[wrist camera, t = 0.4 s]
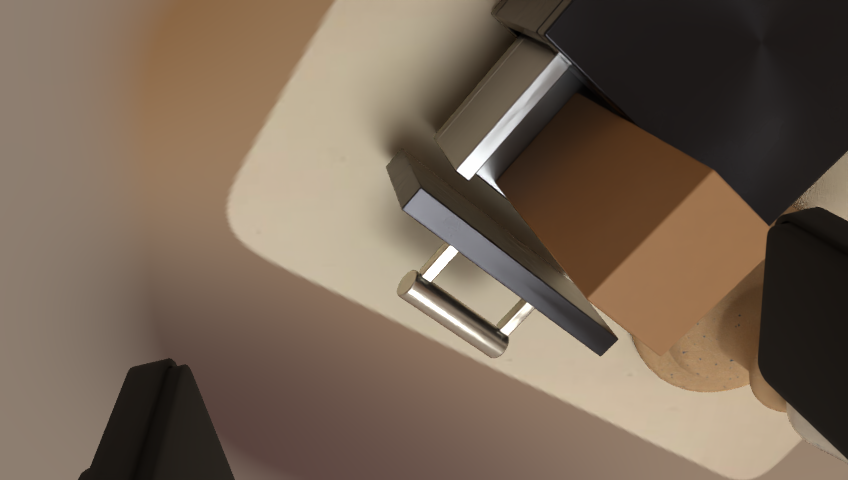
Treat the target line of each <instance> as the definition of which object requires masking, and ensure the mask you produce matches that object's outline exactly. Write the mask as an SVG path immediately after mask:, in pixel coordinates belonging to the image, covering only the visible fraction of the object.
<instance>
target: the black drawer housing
mask: <svg viewBox="0 0 848 480" xmlns="http://www.w3.org/2000/svg"><path fill="white" fill-rule="evenodd" d="M491 14H492V15H493V16H494V17H495V18H496V19H497V20H498V21H499V22H500V23H501V24H502V25H503V26H504V27H505V28H506V29H507V30H508V31H509V32H510V33H512V34H513V35H514V36H515V37H516V38H518V37H519V35H520V34H521V33H523V34H525V35H528V36H530V37H532V38H534V39H537V40H539V41H541V42H543V43H546V44H548V45H550V46H551V47H552V48H553V49H554V50H555V51H556V52H557V53H558V54H559V55H560V56H561V57H562V58H563V59H564V60H565V61H566V62H567V63H568V64H569V65H570V66H571V67H572V68H573V69H574V70H575V71H576V72H577V73H578V74H579V75H580V76H581V77H582V78H583V79H584V80H585V81H586V82H587V83H588V84H589V85H590V86H592V87H593V88H594V89H595V90H596V91H597V92H598V93H599V94H600V95H601V96H602V97H603V98H604V99H605V100H606V101H607V102H608V103H609V104H610V105H611V106H612V107H613V108H614V109H615V110H616V111H617V112H618V113H619V114H620V115H621V116H622V117H623V118H624V119H625V120H627V121H629V122H630V123H632V124H634V125H636V126H637V127H639V128H641V129H643V130H645V131H646V132H648V133H650V134H652V135H653V136H655V137H657V138H659V139H660V140H662V141H664V142H666V143H667V144H669V145H671V146H673V147H675V148H676V149H678V150H680V151H682V152H683V153H685V154H687V155H689V156H690V157H692V158H694V159H696V160H697V161H699V162H701V163H703V164H705V165H706V166H708V167H710V168H712V169H713V170H715V171H716V172H717V173H718V174H719V175H720V176H721V177H722V178H723V179H724V180H725V182H726V183H727V184H728V185H729V186H730V187H731V188H732V189H733V190H734V191H735V192H736V193H737V194H738V195H739V196H740V197H741V198H742V199H743V200H744V201H745V202H746V203H747V204H748V205H749V206H750V207H751V208H752V209H753V210H754V211H755V212H756V213H757V214H758V215H759V216H760V217H761V218H762V220H763V221H764V222H765V223H766V224H767V225H768V226H770V225H771V224H772V223H773V222H774V221H776V220H777V218H778V217H780V216H781V215H782V214H783V213H784V212H785V211H786V210H787V209H788V208H789V207H790V206H791V205H792V204H793V203H794V202H795V201H796V200H797V199H798V198H799V197H800V196H801V195H802V194H804V193H805V192H806V191H807V190H808V189H809V188H810V187H811V186H812V185H813V184H814V183H815V182H816V181H817V180H818V179H819V178H820V177H821V176H822V175H823V174H824V173H825V172H826V171H827V170H828V169H829V168H830V167H831V166H833V165H834V164H835V163H836V162H837V161H838V160H839V159H840V158H841V157H842V156H843V155H844V154H845V153H846V152H847V151H848V0H501V1H500V3H499V4H498V5H497V6H496V7H495V9H494V10H493V11H492V12H491Z"/></svg>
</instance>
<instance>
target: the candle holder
mask: <svg viewBox="0 0 848 480" xmlns="http://www.w3.org/2000/svg"><path fill="white" fill-rule="evenodd" d="M796 211H800V210H798V209H796V208H794V207H792V206H790V207H789V208H788V209H787V210H786V211H785V212H784V213H783V214H788V213H792V212H796ZM783 214H782V215H783ZM775 222H776V221H774V222H773V223H772V224H771V225H770V226H769V227H770V228H771V227H772V226H774V225H775ZM764 267H765V258H764V259H763V260H762V261H761V262H760V263H759V264H758V265H757V266H756V267H755V268H754V269H753V270H752V271H751V272H750V273H749V274H748V275H747V276H746V277H744V278H743V279H742V280H741V281H740V282H739V283H738V284H737V285H736V286H735V287H734V288H733V289H732V290H731V291H730V292H729V293H728V294H727V295H726V296H725V297H724V298H722V299H721V300H720V301H719V302H718V303H717V304H716V305H715V306H714V307H713V308H712V309H711V310H710V311H709V312H708V313H707V314H706V315H705V316H704V317H703V318H701V319H700V320H699V321H698V322H697V323H696V324H695V325H694V326H693V327H692V328H691V329H690V330H689V331H688V332H687V333H686V334H685V335H684V336H683V337H682V338H681V339H679V340H678V341H677V342H676V343H675V344H674V345H673V346H672V347H671V348H670V349H669V350H668V351H667V352H666V353H665V354H664V355H663V356H658V355H657V354H656V353H654V352H653V351H652V350H651V349H649V348H648V347H647V346H645V345H644V344H643V343H642V342H640V341H639V340H638V339H637V338H635V337H634V336H633V335H632V336H633V340H634V343H635V346H636V348H637V350H638V352H639V354H640V356H641V358H642V359H643V361H644V362H645V363H646V365H647V366H648V367H649V368H650V369H651V370H652V371H653V372H654V373H655V374H656V375H658V376H659V377H660V378H661V379H663V380H665V381H666V382H668V383H670V384H672V385H674V386H677V387H680V388H683V389H686V390H690V391H697V392H718V391H726V390H731V389H735V388H739V387H742V386H745V385H748V384H750V386H751V389H752V391H753V393H754V395H755V397H756V398H757V399H758V400H759V401H760V402H761V403H762V404H763V405H765V406H767V407H768V408H770V409H773V410H776V411H780V412H787V416H788V419H789V422H790V423H791V425H792V427H793V428H794V430H795V431H796V432H797V434H798V435H799V436H800V437H802V438H803V439H804V440H805V441H807V442H808V443H810V444H812V445H813V446H815V447H817V448H819V449H821V450H822V451H824V452H827V453H828V454H831V455H833V456H835V457H836V458H838V459H840V460H842V461H844V462H845V463H847V464H848V460H847V459H846V458H845V457H844V456H843V455H842V454H841V453H840V452H839V451H838V450H837V449H836V448H835V447H834V446H833V445H832V444H831V443H830V442H829V441H828V440H826V439H825V438H824V437H823V436H822V435H821V434H820V433H819V432H818V431H817V430H816V429H815V428H814V427H813V426H812V425H811V424H810V423H809V422H808V421H807V420H805V419H804V418H803V417H802V416H801V415H800V414H799V413H798V412H797V411H796V410H795V409H794V408H793V407H792V406H791V405H790V404H789V403H788V402H787V401H786V400H784V399H783V398H782V397H781V396H780V395H779V394H778V393H777V392H776V391H775V390H774V389H773V388H772V387H771V386H770V385H769V384H768V383H767V382H766V381H765V380H764V378H763V377H762V375H761V373H760V370H759V367H758V347H759V334H760V320H761V307H762V294H763V280H764Z"/></svg>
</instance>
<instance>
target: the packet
mask: <svg viewBox="0 0 848 480" xmlns="http://www.w3.org/2000/svg"><path fill="white" fill-rule="evenodd" d="M495 184H496V185H497V186H498V188H499V189H500V190H501V192H502V193H503V194H504V195H505V197H506V198H507V199H508V200H509V202H510V203H511V204H512V205H513V207H514V208H515V209H516V211H517V212H518V213H519V214H520V216H521V217H522V218H523V219H524V221H525V222H526V223H527V224H528V226H529V227H530V228H531V230H532V231H533V232H534V233H535V235H536V236H537V237H538V238H539V240H540V241H541V242H542V243H543V245H544V246H545V247H546V249H547V250H548V251H549V252H550V254H551V255H552V256H553V257H554V259H555V260H556V261H557V262H558V264H559V265H560V266H561V268H562V269H563V270H564V271H565V273H566V274H567V275H568V276H569V278H570V279H571V280H572V281H573V283H574V284H575V285H576V287H577V288H578V289H579V290H580V292H581V293H582V294H583V295H584V297H585V298H586V299H587V300H588V301H589V302H591V303H592V304H593V305H594V306H596V307H597V308H598V309H600V310H601V311H602V312H603V313H605V314H606V315H607V316H608V317H610V318H611V319H612V320H614V321H615V322H616V323H617V324H619V325H620V326H621V327H622V328H624V329H625V330H626V331H628V332H629V333H630V334H631V335H633V336H634V337H635V338H637V339H638V340H639V341H640V342H642V343H643V344H644V345H645V346H647V347H648V348H649V349H651V350H652V351H653V352H654V353H656V354H657V355H658V356H663V355H664V354H665V353H666V352H667V351H668V350H669V349H670V348H671V347H672V346H673V345H674V344H675V343H676V342H677V341H678V340H679V339H681V338H682V337H683V336H684V335H685V334H686V333H687V332H688V331H689V330H690V329H691V328H692V327H693V326H694V325H695V324H696V323H697V322H698V321H699V320H700V319H701V318H703V317H704V316H705V315H706V314H707V313H708V312H709V311H710V310H711V309H712V308H713V307H714V306H715V305H716V304H717V303H718V302H719V301H720V300H721V299H722V298H724V297H725V296H726V295H727V294H728V293H729V292H730V291H731V290H732V289H733V288H734V287H735V286H736V285H737V284H738V283H739V282H740V281H741V280H742V279H743V278H744V277H746V276H747V275H748V274H749V273H750V272H751V271H752V270H753V269H754V268H755V267H756V266H757V265H758V264H759V263H760V262H761V261H762V260H763V259H764V258H765V253H766V240H767V233H768V231H769V229H770V227H769V226H768V225H767V224H766V223H765V222H764V221H763V220H762V218H761V217H760V216H759V215H758V214H757V213H756V212H755V211H754V210H753V209H752V208H751V207H750V206H749V205H748V204H747V203H746V202H745V201H744V200H743V199H742V198H741V197H740V196H739V195H738V194H737V193H736V192H735V191H734V190H733V189H732V188H731V187H730V186H729V185H728V184H727V183H726V182H725V180H724V179H723V178H722V177H721V176H720V175H719V174H718V173H717V172H716V171H715V170H713V169H712V168H710V167H708V166H706V165H705V164H703V163H701V162H699V161H697V160H696V159H694V158H692V157H690V156H689V155H687V154H685V153H683V152H682V151H680V150H678V149H676V148H675V147H673V146H671V145H669V144H667V143H666V142H664V141H662V140H660V139H659V138H657V137H655V136H653V135H652V134H650V133H648V132H646V131H645V130H643V129H641V128H639V127H637V126H636V125H634V124H632V123H630V122H629V121H627V120H625V119H623V118H622V117H620V116H618V115H616V114H615V113H613V112H611V111H609V110H607V109H606V108H604V107H602V106H600V105H599V104H597V103H595V102H593V101H592V100H590V99H588V98H586V97H585V96H583V95H581V94H579V93H577V92H576V93H575V94H574V95H573V96H572V97H571V98H570V99H569V101H568V102H567V103H566V104H565V105H564V106H563V107H562V108H561V109H560V111H559V112H558V113H557V114H556V115H555V116H554V117H553V118H552V120H551V121H550V122H549V123H548V124H547V125H546V126H545V127H544V128H543V130H542V131H541V132H540V133H539V134H538V135H537V136H536V137H535V139H534V140H533V141H532V142H531V143H530V144H529V145H528V146H527V147H526V149H525V150H524V151H523V152H522V153H521V154H520V155H519V156H518V158H517V159H516V160H515V161H514V162H513V163H512V164H511V165H510V166H509V168H508V169H507V170H506V171H505V172H504V173H503V174H502V175H501V177H500V178H499V179H498V180H497V181H496V182H495Z"/></svg>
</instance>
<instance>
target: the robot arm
mask: <svg viewBox="0 0 848 480" xmlns="http://www.w3.org/2000/svg"><path fill="white" fill-rule="evenodd" d="M758 367H759V370H760V373H761V375H762V377H763V378H764V380H765V381H766V382H767V383H768V384H769V385H770V386H771V387H772V388H773V389H774V390H775V391H776V392H777V393H778V394H779V395H780V396H781V397H782V398H783V399H784V400H786V401H787V402H788V403H789V404H790V405H791V406H792V407H793V408H794V409H795V410H796V411H797V412H798V413H799V414H800V415H801V416H802V417H803V418H804V419H805V420H807V421H808V422H809V423H810V424H811V425H812V426H813V427H814V428H815V429H816V430H817V431H818V432H819V433H820V434H821V435H822V436H823V437H824V438H825V439H826V440H828V441H829V442H830V443H831V444H832V445H833V446H834V447H835V448H836V449H837V450H838V451H839V452H840V453H841V454H842V455H843V456H844V457H845V458H846V459H847V460H848V221H846V220H844V219H842V218H841V217H839V216H837V215H835V214H833V213H831V212H829V211H827V210H825V209H823V208H819V207H814V208H809V209H805V210H801V211H796V212H792V213H788V214H783V215H781V216H780V217H778V218H777V220H776V222H775V225H774V226H772V227H771V228H770V229H769V231H768V233H767V240H766V253H765V267H764V280H763V294H762V307H761V320H760V334H759V347H758ZM78 480H235V479H234V476H233V474H232V472H231V469H230V466H229V464H228V461H227V459H226V457H225V454H224V451H223V449H222V446H221V444H220V441H219V439H218V436H217V434H216V431H215V429H214V426H213V424H212V422H211V419H210V416H209V414H208V411H207V409H206V407H205V404H204V401H203V399H202V396H201V394H200V391H199V389H198V387H197V384H196V381H195V379H194V376H193V374H192V372H191V370H190V368H189V367H188V365H181V366H177V365H176V363H175V362H174V361H173V360H172V359H170V358H169V359H164V360H160V361H156V362H152V363H147V364H143V365H139V366H135V367H132V368H130V370H129V371H128V373H127V376H126V378H125V381H124V383H123V386H122V388H121V391H120V393H119V396H118V398H117V401H116V403H115V406H114V408H113V411H112V413H111V416H110V418H109V421H108V424H107V426H106V429H105V431H104V434H103V436H102V439H101V441H100V444H99V446H98V449H97V451H96V454H95V456H94V459H93V461H92V464H91V466H90V468H88V469H87V470H85V471H84V472H83V473H82V474H81V475H80V477H79V479H78Z"/></svg>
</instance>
